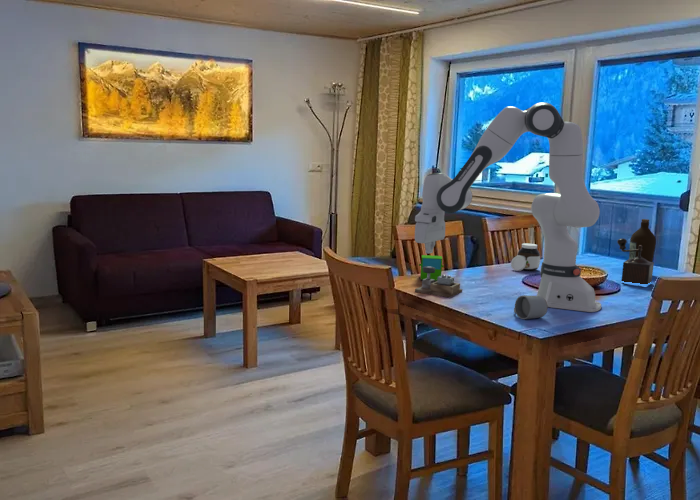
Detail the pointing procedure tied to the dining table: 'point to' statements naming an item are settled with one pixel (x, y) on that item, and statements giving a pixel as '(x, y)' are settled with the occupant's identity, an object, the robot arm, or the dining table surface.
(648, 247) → the olive oil
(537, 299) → the ceramic mug
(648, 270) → the manual coffee grinder
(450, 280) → the engine block
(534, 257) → the spread jar
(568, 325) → the dining table surface
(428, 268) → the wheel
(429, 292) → the chassis
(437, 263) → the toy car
